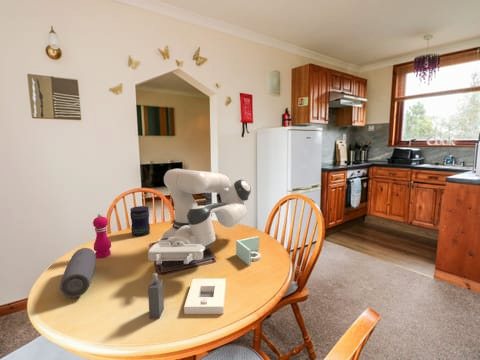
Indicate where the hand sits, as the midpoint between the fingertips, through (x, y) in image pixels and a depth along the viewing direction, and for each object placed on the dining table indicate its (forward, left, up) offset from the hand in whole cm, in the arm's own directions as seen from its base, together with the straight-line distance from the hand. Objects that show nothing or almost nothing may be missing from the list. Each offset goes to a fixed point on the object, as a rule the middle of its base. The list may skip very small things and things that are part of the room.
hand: (172, 262), depth 89 cm
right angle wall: (+16, +37, -12) cm, 42 cm away
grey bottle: (+3, -12, -11) cm, 16 cm away
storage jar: (-53, +37, -11) cm, 66 cm away
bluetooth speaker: (-34, -10, -11) cm, 38 cm away
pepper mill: (-48, +9, -11) cm, 50 cm away
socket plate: (+13, +1, -11) cm, 17 cm away
